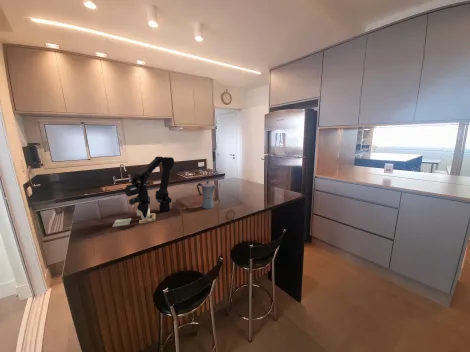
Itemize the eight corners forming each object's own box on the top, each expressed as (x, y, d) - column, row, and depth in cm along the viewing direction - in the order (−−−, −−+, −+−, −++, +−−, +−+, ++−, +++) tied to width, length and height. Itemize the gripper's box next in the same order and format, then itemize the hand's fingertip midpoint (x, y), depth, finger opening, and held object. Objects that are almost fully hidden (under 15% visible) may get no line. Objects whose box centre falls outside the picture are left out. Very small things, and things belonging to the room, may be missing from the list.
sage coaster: (131, 218, 133) (131, 218, 133) (129, 224, 125) (129, 223, 125) (115, 221, 130) (115, 220, 130) (112, 226, 122) (112, 226, 122)
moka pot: (215, 209, 145) (214, 182, 141) (195, 208, 148) (193, 182, 144) (218, 205, 154) (217, 179, 150) (200, 204, 158) (198, 179, 153)
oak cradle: (155, 214, 139) (155, 212, 138) (154, 221, 128) (154, 219, 128) (141, 216, 136) (141, 214, 136) (139, 223, 126) (139, 221, 125)
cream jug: (150, 217, 135) (149, 204, 133) (150, 220, 130) (148, 207, 128) (138, 219, 133) (136, 206, 131) (137, 222, 128) (135, 208, 126)
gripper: (131, 189, 134) (134, 211, 137) (126, 197, 117) (129, 222, 120) (149, 187, 138) (151, 209, 141) (146, 195, 120) (149, 219, 124)
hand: (145, 214), depth 131 cm, fingers open, 9 cm apart
